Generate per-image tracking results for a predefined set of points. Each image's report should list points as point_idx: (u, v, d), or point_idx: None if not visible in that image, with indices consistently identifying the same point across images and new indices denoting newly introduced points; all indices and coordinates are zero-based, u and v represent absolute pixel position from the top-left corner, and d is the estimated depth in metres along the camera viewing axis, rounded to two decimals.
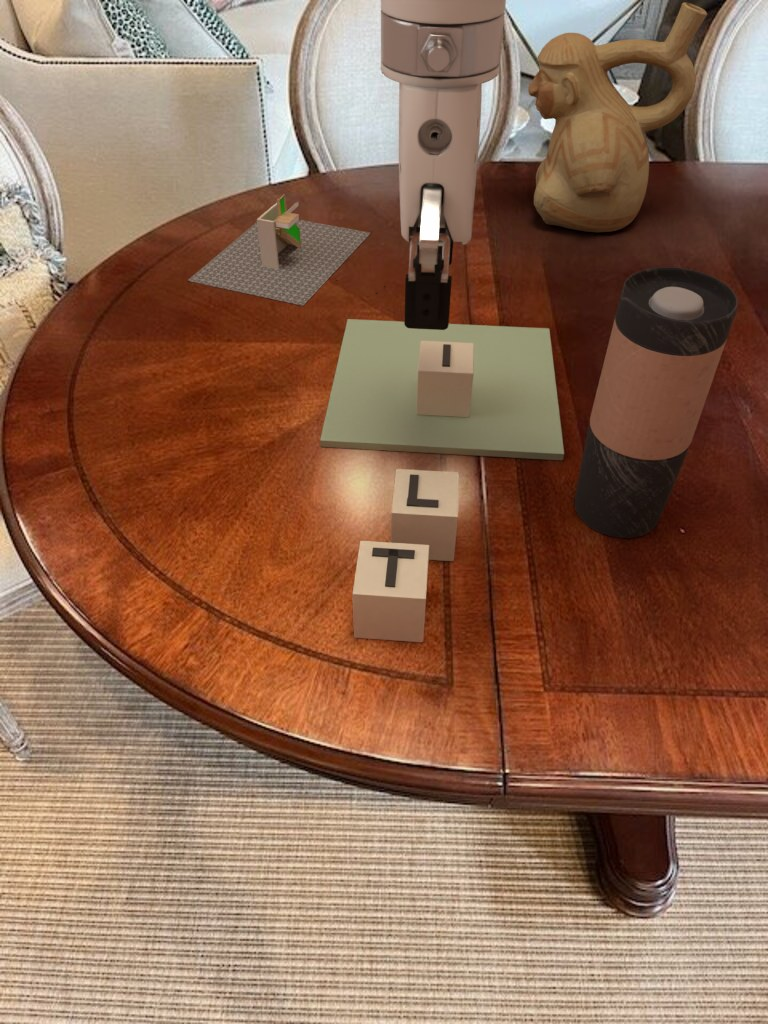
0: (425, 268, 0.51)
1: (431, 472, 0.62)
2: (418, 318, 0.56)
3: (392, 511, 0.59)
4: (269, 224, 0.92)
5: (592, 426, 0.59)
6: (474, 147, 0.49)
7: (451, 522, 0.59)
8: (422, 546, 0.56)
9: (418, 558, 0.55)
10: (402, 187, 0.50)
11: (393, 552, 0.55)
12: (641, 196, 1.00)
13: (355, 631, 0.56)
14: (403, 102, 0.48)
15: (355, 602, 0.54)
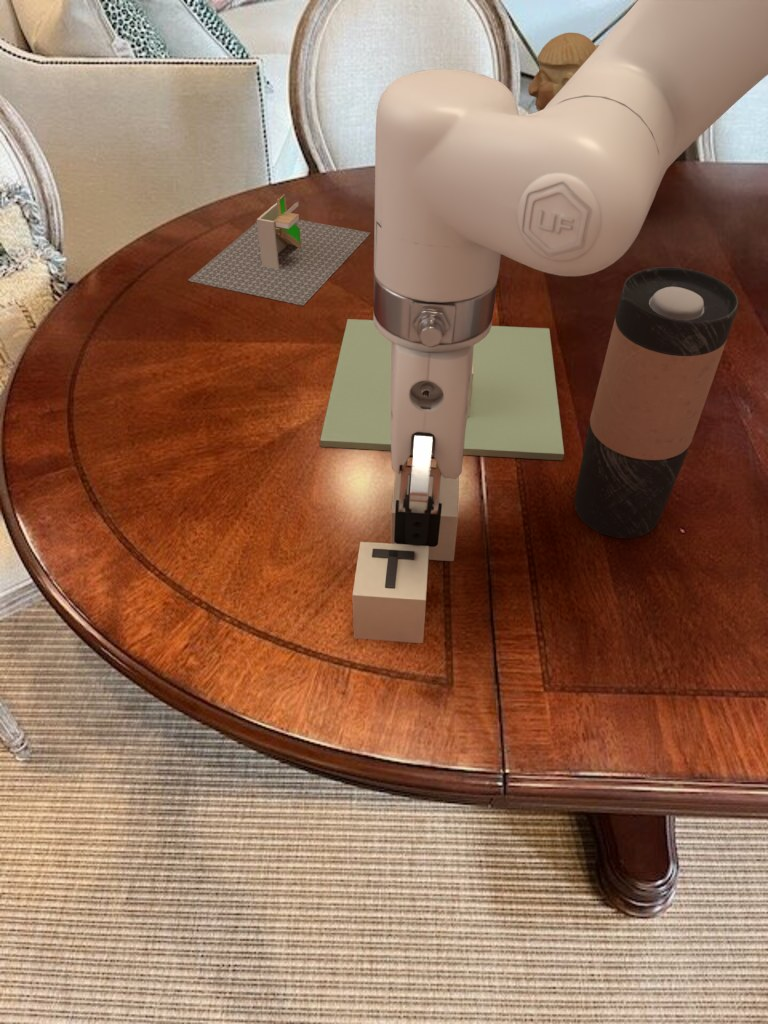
0: (415, 511, 0.51)
1: None
2: (408, 540, 0.56)
3: (392, 511, 0.59)
4: (269, 224, 0.92)
5: (592, 426, 0.59)
6: (465, 402, 0.49)
7: (451, 522, 0.59)
8: (422, 547, 0.56)
9: (418, 559, 0.55)
10: (393, 432, 0.50)
11: (393, 553, 0.55)
12: None
13: (355, 632, 0.56)
14: (395, 361, 0.48)
15: (355, 603, 0.54)
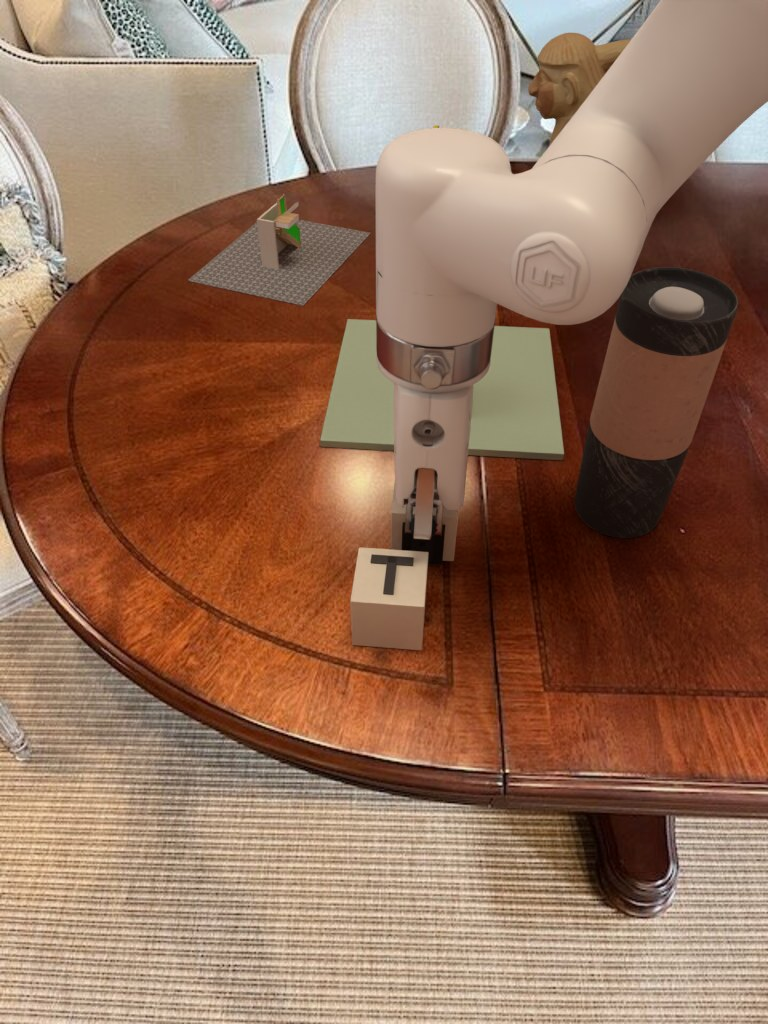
0: None
1: None
2: None
3: (392, 511, 0.59)
4: (269, 224, 0.92)
5: (592, 426, 0.59)
6: (466, 439, 0.51)
7: (451, 522, 0.59)
8: (421, 553, 0.56)
9: (417, 565, 0.55)
10: (397, 468, 0.52)
11: (392, 559, 0.55)
12: None
13: (353, 638, 0.55)
14: (398, 401, 0.50)
15: (353, 609, 0.53)
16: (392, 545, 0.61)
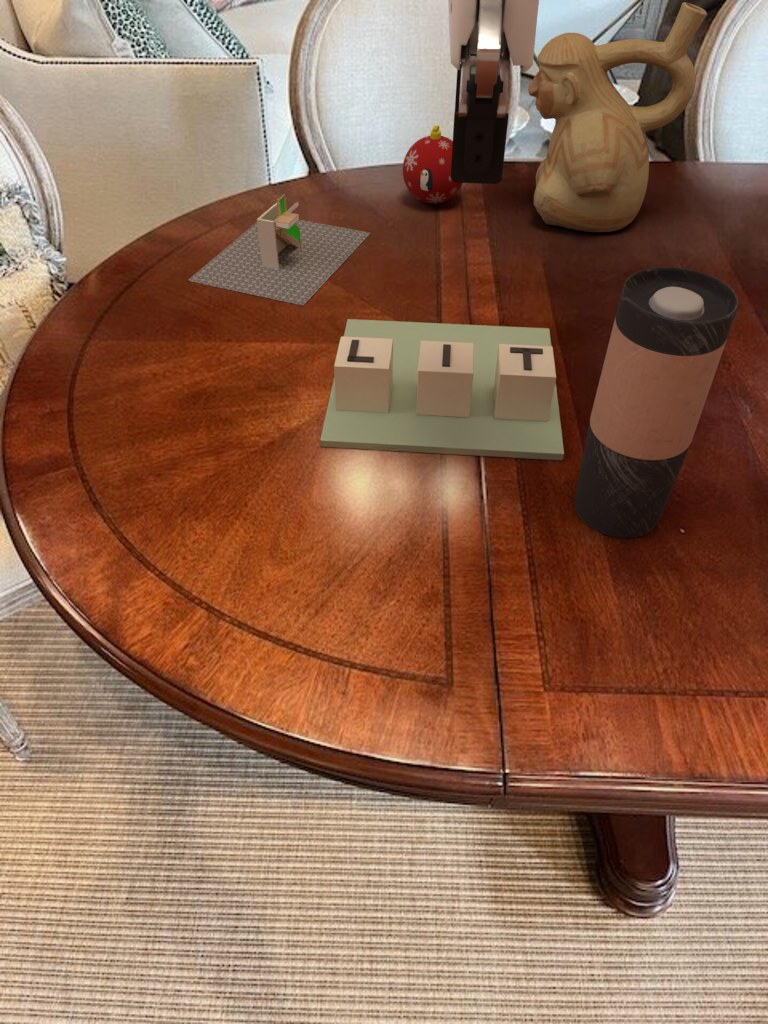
0: (481, 90, 0.43)
1: (370, 338, 0.74)
2: (468, 166, 0.48)
3: (335, 365, 0.71)
4: (269, 224, 0.92)
5: (592, 426, 0.59)
6: None
7: (384, 374, 0.71)
8: (547, 347, 0.73)
9: (545, 353, 0.72)
10: None
11: (526, 349, 0.72)
12: (641, 196, 1.00)
13: (496, 412, 0.73)
14: None
15: (501, 382, 0.70)
16: (337, 398, 0.73)
